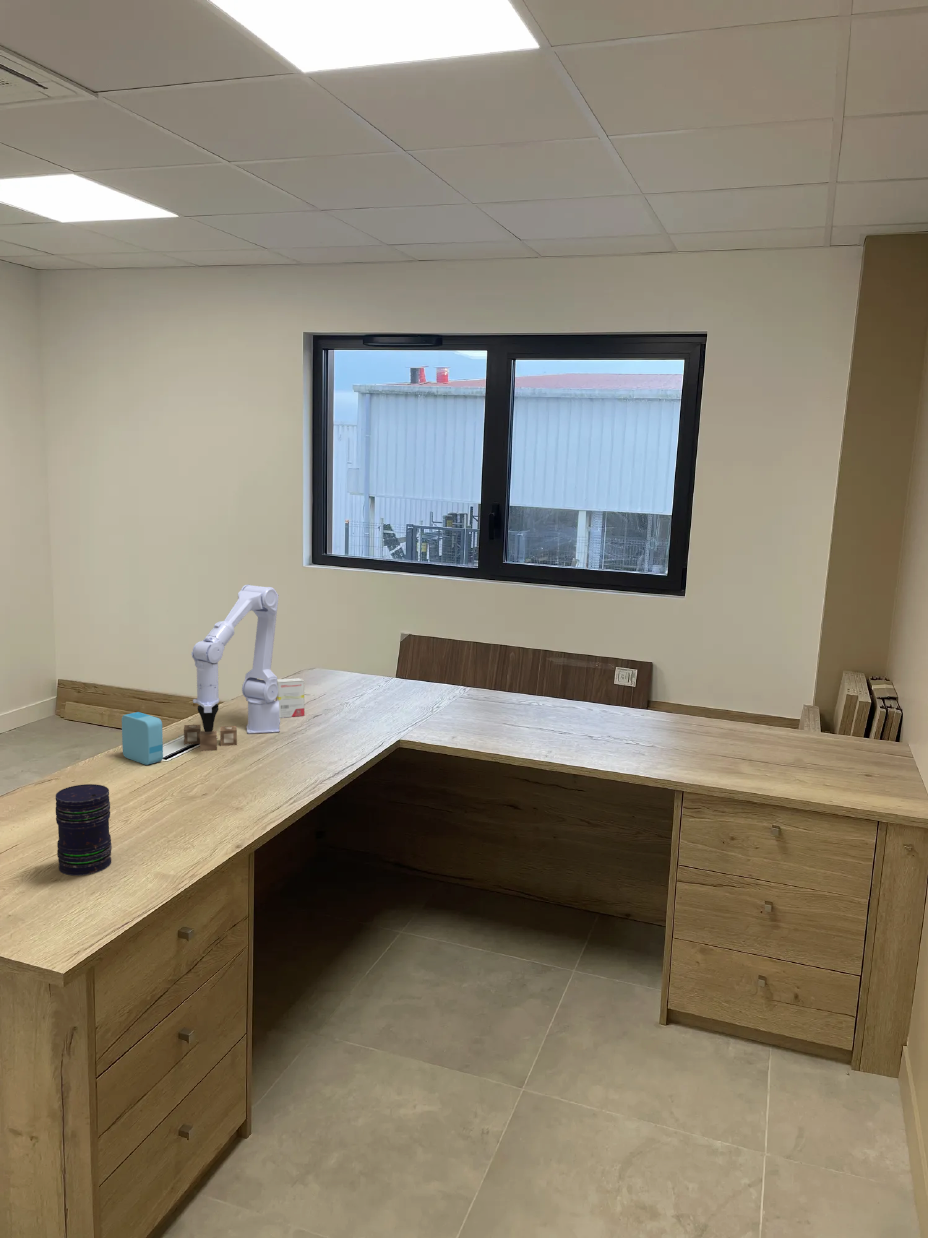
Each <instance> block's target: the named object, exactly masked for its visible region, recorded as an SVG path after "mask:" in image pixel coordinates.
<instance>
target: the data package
mask: <svg viewBox="0 0 928 1238" xmlns="http://www.w3.org/2000/svg"><path fill="white" fill-rule="evenodd" d="M121 738H122V739H121V743H122V755H123V757H125V758H126V759H129V760H132V761H134V762H137V763H140V764H143V765H145V766H149V765H153V764H155V763H160V762H162V761H163V759H164V746H163V744H164V741H163V740H164V739H163V722H162V720H161V718H159V717H157V716H154V715H149V714H147V713H142V712H140V711H136V712H132V713H127V714H123V715H122V717H121Z"/></svg>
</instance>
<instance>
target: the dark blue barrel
mask: <svg viewBox="0 0 928 1238" xmlns="http://www.w3.org/2000/svg"><path fill="white" fill-rule="evenodd" d="M55 816H56V817H55V821H56V824H57V831H58V834H57V835H58V840H57V842H56V844H57V846H56V847H57V851H56V855H57V861H58V871H59V872H60V873H62V874H63V875H66V876H73V877H74V876H77V877H79V876H87V875H88V876H89V875H92V874H95V873H96V874H97V873H100V872H102V871H104V870H106V869H107V868H109V867H110V866H111V865H112V857H111V856H112V850H113V849H112V847H113V846H112V835H111V834H110V818H111V802H110V789H109V787H108V786H105V785H103V784H102V785H101V784H93V783H90V784H89V783H87V784H77V785H73V786H68V787H65V788H62V789H61V790H59V791H57V792H56V794H55Z"/></svg>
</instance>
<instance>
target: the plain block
mask: <svg viewBox="0 0 928 1238" xmlns="http://www.w3.org/2000/svg"><path fill="white" fill-rule="evenodd" d="M217 731H218V730H213V731H212V732H205V731H204V730H201V731H200V744H199V751H200V752H210V751H215V752H216V751H217V750H218V736H217V735H218V734H217Z"/></svg>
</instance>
